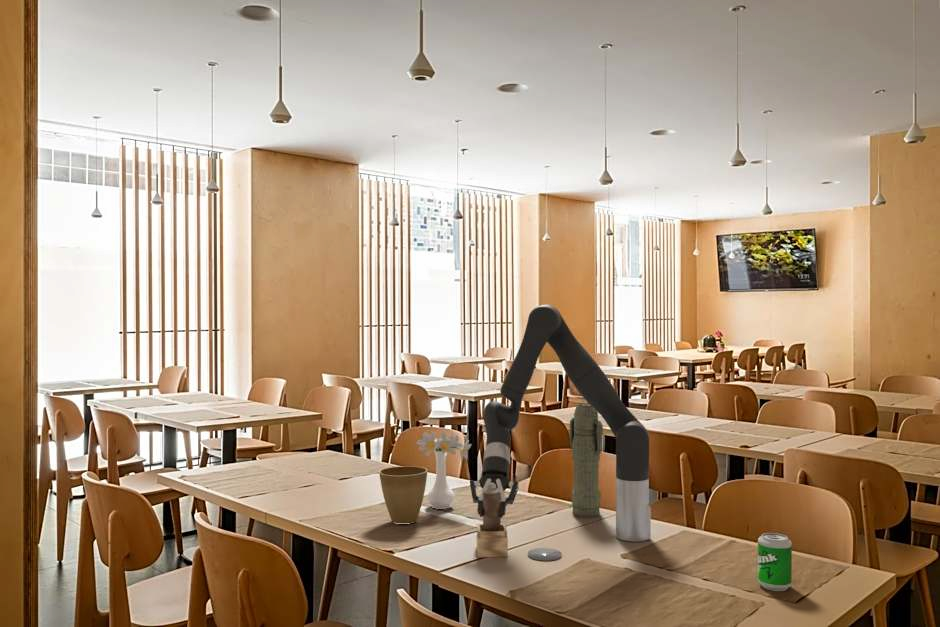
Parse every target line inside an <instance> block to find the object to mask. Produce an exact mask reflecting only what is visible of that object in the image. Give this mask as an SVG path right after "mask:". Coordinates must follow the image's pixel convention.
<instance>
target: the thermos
mask: <svg viewBox="0 0 940 627" xmlns="http://www.w3.org/2000/svg"><path fill="white" fill-rule="evenodd" d="M603 430H604V425H603V423H602V421H601V420H599V413H598V412H597V411H596V410H595V409H594V408H593V407H592V406H591V405H590V404H589V403H579V404H578V405H576V407H575V410H574V413H573V417H572V418H571V419H570V421H569V445H570V448H569V449H570V450H571V455H572V457H571V459H572V461H573V488H572V491H571V506H572V514H573V515H574V516H577V517H580V518H581V517H582V518H593V517H594V518H595V517H599V516H600V514H601V512H600V508H601V493H600V489H599V462H600V460H601V453H602V452H603V451H604V450H603V432H604V431H603Z"/></svg>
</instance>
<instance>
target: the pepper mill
mask: <svg viewBox="0 0 940 627" xmlns="http://www.w3.org/2000/svg"><path fill="white" fill-rule="evenodd" d="M500 502H501V493H500V492H499V489H498V488H496V485H495V484H494V483H489V484H488V486H487V488H486V489H485V492H483V517H482V524H483V531H501V524H502V521H501V519H502V518H500V516H499V511H500Z"/></svg>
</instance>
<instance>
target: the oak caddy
mask: <svg viewBox="0 0 940 627" xmlns="http://www.w3.org/2000/svg"><path fill="white" fill-rule="evenodd" d="M508 541H509V538H508V529H507V525H506V523H501V531H483V523H477V524H476V552H477V553H476V554H477V558H508V556H509V555H508V554H509V551H508V550H509V548H508V546H509V545H508V544H509V542H508Z"/></svg>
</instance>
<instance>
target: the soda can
mask: <svg viewBox="0 0 940 627" xmlns="http://www.w3.org/2000/svg"><path fill="white" fill-rule="evenodd" d="M792 545H793V542H792V541H791V540H790V539H789V538H788V536H787V535H784V534H781V533H774V532H765V533H762V534H761V536H759V537H758V539H757V581H758V583H759V584H760V585H761V587H762V588H764V589H766V590H768V591H773V592H784V591H787V590H788V589H789V588H790V587H791V586H792V580H793V579H792V576H793V575H792V574H793V573H792V571H793V570H792V563H793V562H792V561H793V559H792V556H793V554H792V550H793V549H792V548H793V546H792Z"/></svg>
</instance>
